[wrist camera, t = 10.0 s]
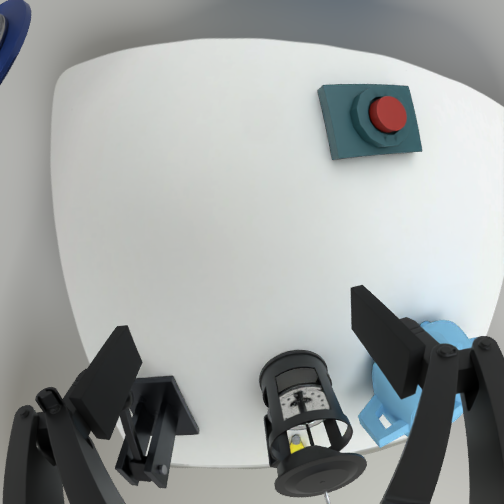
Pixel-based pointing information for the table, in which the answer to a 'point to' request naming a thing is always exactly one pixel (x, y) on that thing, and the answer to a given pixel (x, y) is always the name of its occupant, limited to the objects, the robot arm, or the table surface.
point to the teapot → (405, 409)
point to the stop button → (387, 114)
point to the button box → (365, 121)
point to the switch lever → (133, 442)
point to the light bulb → (296, 444)
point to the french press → (303, 417)
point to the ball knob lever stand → (156, 427)
